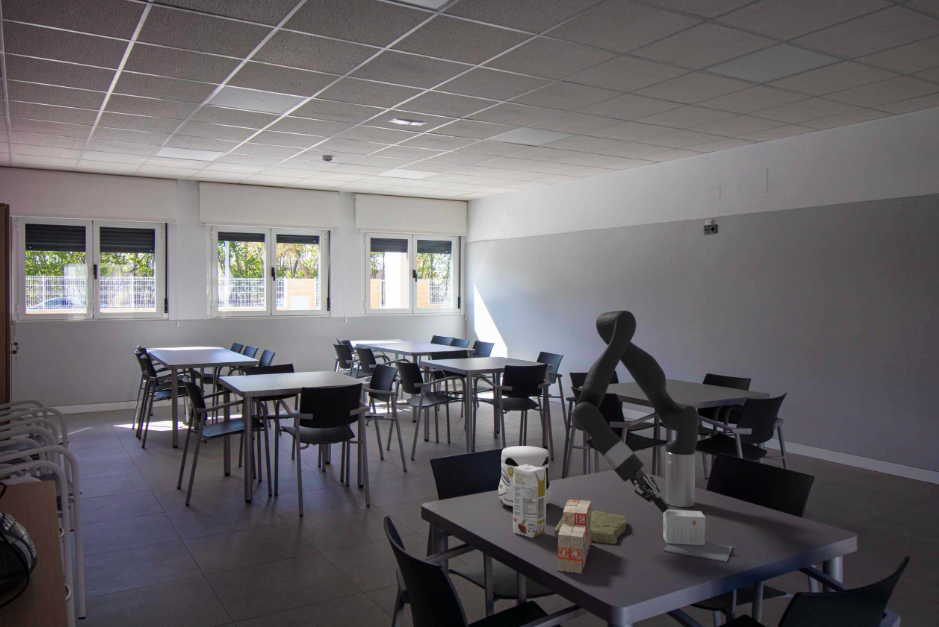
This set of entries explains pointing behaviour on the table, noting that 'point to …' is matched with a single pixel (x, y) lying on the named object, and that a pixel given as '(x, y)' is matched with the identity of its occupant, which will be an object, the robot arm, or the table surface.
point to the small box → (684, 527)
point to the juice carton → (529, 500)
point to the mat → (702, 550)
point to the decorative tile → (603, 527)
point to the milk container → (517, 458)
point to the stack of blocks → (574, 536)
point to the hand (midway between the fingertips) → (666, 510)
